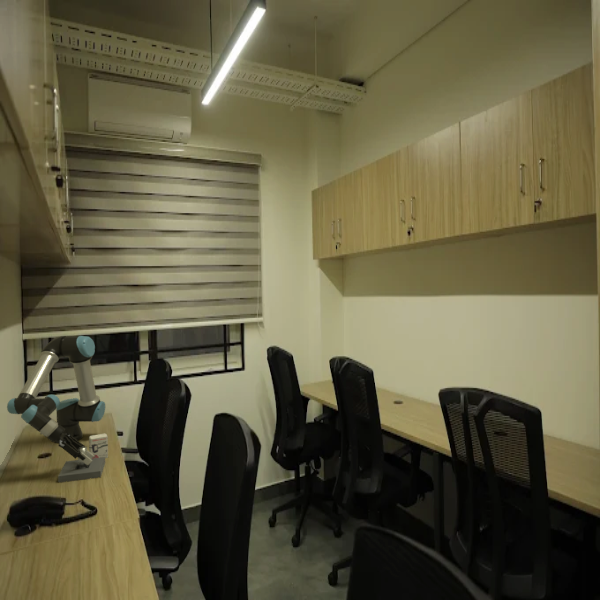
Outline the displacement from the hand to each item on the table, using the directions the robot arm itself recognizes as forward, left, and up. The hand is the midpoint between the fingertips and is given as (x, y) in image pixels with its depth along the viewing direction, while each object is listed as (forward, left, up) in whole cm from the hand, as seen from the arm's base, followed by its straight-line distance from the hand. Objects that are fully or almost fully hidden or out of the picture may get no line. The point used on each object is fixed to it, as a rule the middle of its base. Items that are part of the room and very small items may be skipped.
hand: (91, 460), depth 214 cm
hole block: (0, -4, -5) cm, 7 cm away
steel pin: (0, -4, -5) cm, 7 cm away
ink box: (-17, +1, -6) cm, 18 cm away
